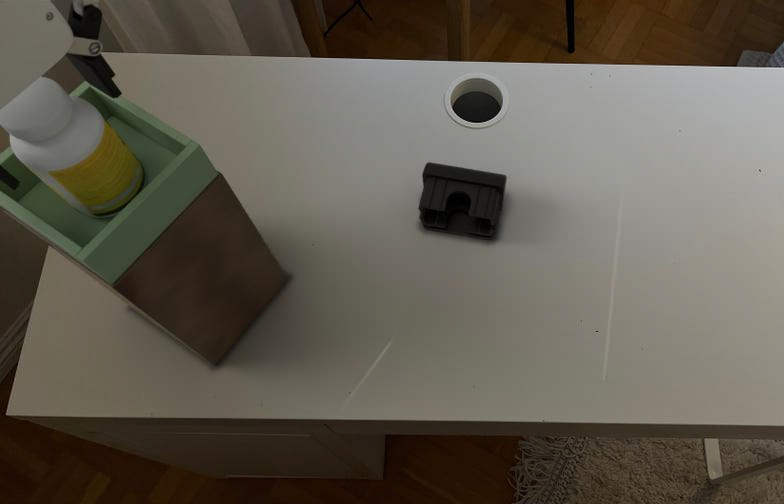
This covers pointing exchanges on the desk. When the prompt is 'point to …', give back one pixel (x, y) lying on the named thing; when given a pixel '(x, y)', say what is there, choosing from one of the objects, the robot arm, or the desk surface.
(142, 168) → the pill bottle
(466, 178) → the end cap
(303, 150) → the desk surface
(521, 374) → the desk surface
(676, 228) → the desk surface
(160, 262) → the stand
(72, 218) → the green storage bin
